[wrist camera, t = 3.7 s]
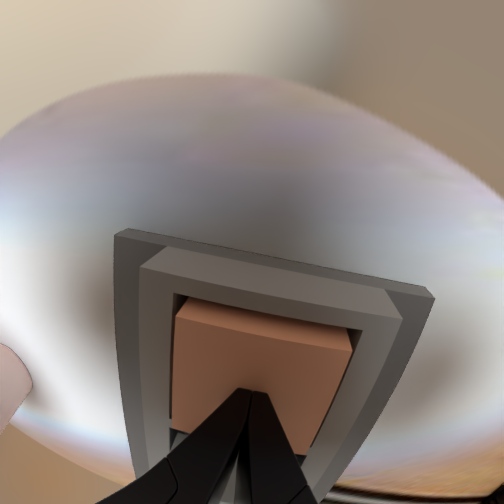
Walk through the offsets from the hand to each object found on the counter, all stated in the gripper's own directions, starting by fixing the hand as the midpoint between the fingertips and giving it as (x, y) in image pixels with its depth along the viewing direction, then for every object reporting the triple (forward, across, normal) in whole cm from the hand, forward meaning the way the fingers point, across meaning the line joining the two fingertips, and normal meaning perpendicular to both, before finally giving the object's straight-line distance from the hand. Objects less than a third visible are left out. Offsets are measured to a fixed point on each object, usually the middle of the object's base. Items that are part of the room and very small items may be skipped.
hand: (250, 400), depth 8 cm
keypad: (+4, 0, +6) cm, 7 cm away
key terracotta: (+3, 0, 0) cm, 3 cm away
